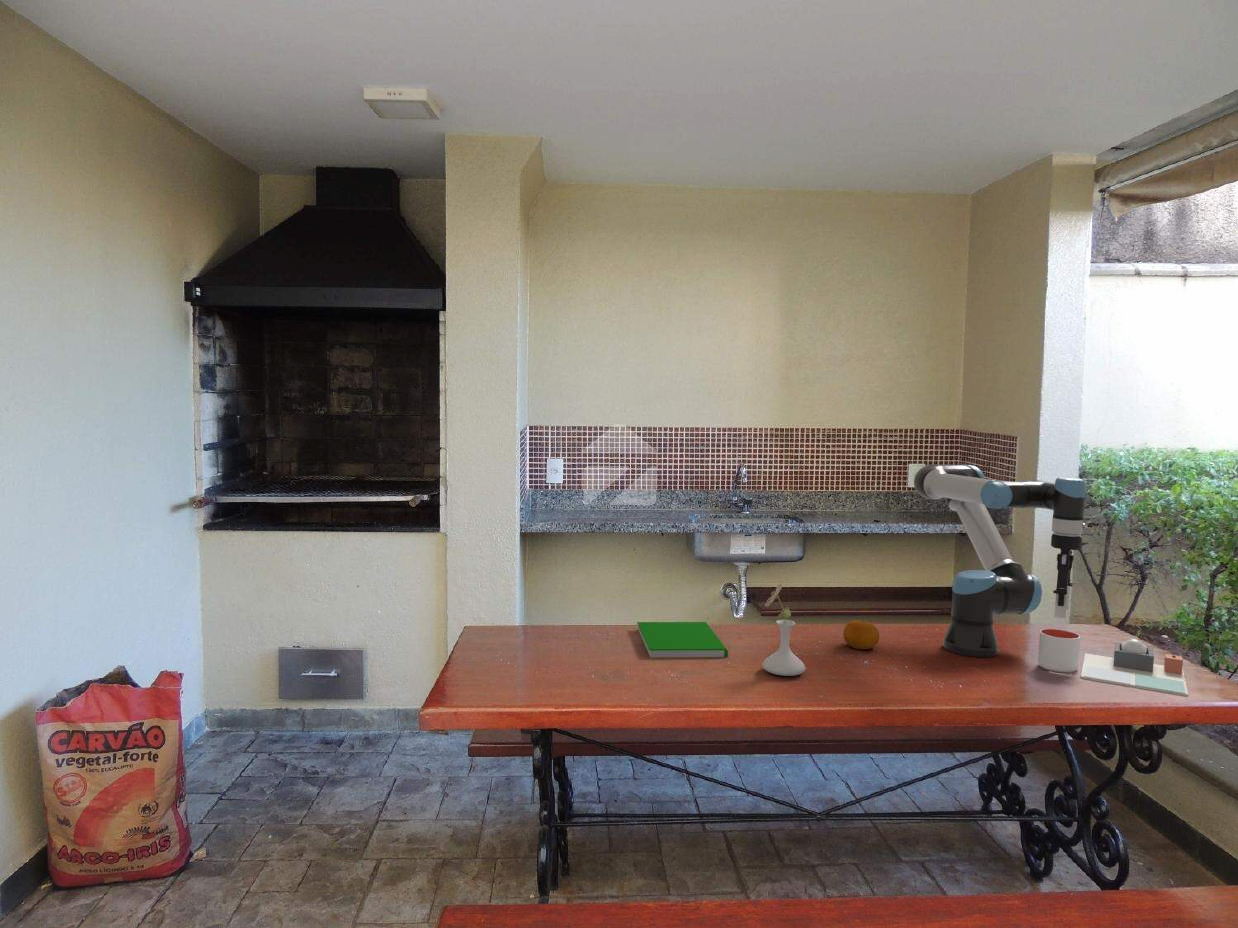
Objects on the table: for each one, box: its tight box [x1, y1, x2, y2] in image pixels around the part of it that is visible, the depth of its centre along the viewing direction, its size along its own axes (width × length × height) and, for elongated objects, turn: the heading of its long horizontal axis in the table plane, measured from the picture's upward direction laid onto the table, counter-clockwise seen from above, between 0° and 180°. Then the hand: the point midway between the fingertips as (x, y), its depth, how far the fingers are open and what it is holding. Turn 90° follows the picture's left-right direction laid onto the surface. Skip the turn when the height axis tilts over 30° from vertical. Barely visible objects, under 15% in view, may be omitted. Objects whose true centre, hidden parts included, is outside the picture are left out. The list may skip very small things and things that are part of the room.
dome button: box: [1121, 638, 1147, 654], centre depth 239 cm, size 6×6×6 cm
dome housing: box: [1113, 642, 1155, 672], centre depth 239 cm, size 9×9×4 cm
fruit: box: [842, 619, 880, 650], centre depth 251 cm, size 10×10×8 cm
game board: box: [1080, 652, 1189, 697], centre depth 232 cm, size 24×25×5 cm
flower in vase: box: [761, 581, 806, 677], centre depth 225 cm, size 13×11×25 cm
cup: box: [1037, 628, 1081, 674], centre depth 235 cm, size 10×10×10 cm
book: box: [636, 621, 729, 658], centre depth 251 cm, size 22×28×3 cm
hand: (1061, 613), depth 235 cm, fingers open, 10 cm apart
